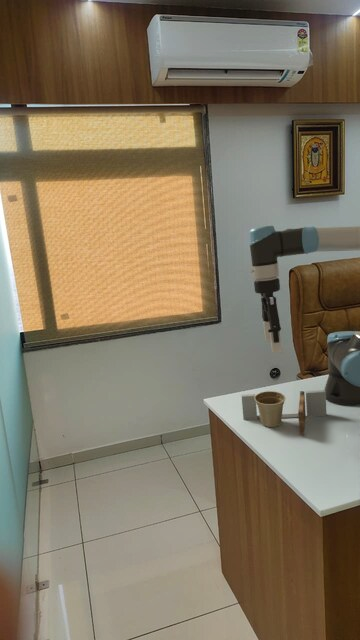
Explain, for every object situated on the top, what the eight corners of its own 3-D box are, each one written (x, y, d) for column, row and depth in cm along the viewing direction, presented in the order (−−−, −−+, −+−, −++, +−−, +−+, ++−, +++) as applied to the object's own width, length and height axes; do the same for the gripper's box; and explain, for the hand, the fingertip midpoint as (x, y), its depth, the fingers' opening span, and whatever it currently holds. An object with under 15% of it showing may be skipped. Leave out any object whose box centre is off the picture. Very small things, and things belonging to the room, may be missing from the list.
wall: (325, 413, 132) (324, 389, 131) (326, 416, 130) (325, 392, 128) (243, 417, 136) (241, 394, 134) (243, 420, 133) (241, 397, 132)
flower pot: (292, 425, 126) (291, 399, 124) (265, 433, 124) (263, 407, 122) (276, 413, 135) (275, 388, 133) (250, 420, 132) (248, 395, 130)
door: (301, 413, 133) (299, 391, 131) (309, 414, 132) (308, 391, 131) (299, 435, 119) (297, 410, 118) (308, 435, 119) (306, 410, 117)
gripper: (249, 276, 137) (256, 338, 141) (259, 285, 112) (267, 359, 116) (272, 273, 136) (278, 335, 140) (287, 281, 112) (293, 356, 116)
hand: (273, 346), depth 128 cm, fingers open, 13 cm apart
